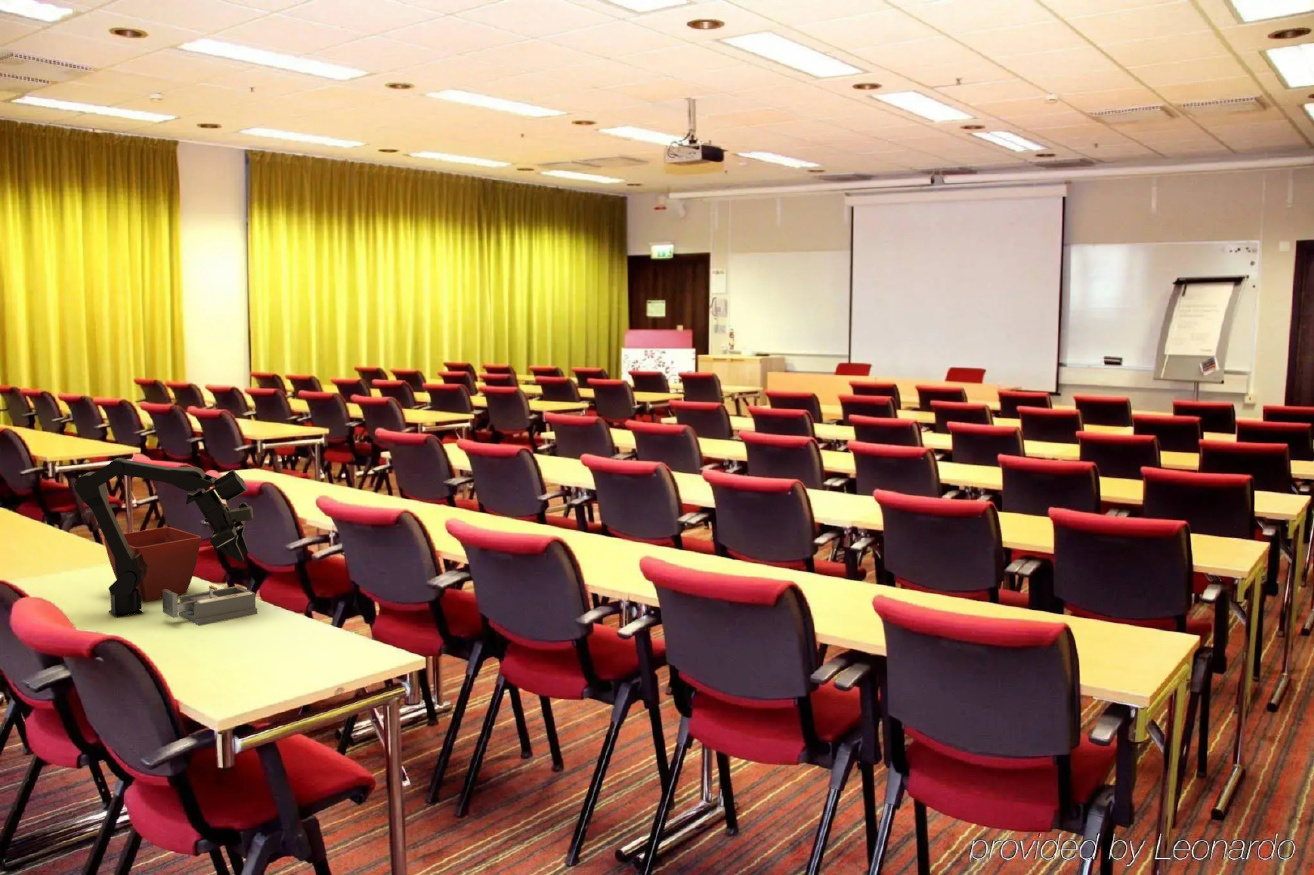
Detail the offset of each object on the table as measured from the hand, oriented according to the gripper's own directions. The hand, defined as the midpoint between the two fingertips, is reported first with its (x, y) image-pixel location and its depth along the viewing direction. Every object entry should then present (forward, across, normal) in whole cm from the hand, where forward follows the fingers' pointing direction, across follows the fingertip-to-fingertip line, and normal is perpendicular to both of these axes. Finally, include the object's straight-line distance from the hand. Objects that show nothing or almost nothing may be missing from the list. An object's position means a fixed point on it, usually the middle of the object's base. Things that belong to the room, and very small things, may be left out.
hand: (244, 557), depth 284 cm
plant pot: (-1, +19, +31) cm, 36 cm away
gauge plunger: (+5, -9, +16) cm, 19 cm away
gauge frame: (+9, -5, +13) cm, 16 cm away
